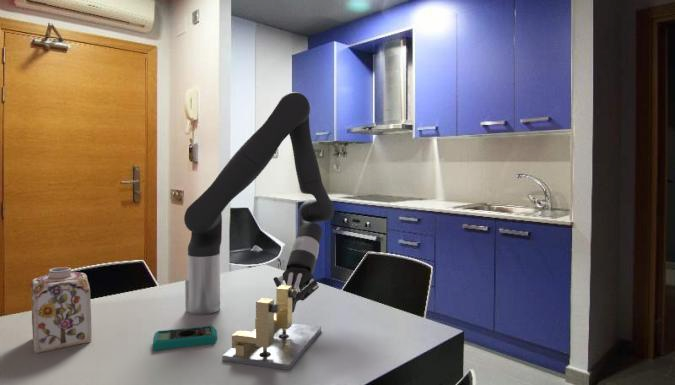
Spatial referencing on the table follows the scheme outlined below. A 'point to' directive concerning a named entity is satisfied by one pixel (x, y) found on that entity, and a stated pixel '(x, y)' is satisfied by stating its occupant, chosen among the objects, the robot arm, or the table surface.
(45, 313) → the decorative jar
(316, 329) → the flange plate
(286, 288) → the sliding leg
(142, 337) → the table surface
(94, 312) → the table surface
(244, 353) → the tan block assembly
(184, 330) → the digital multimeter
